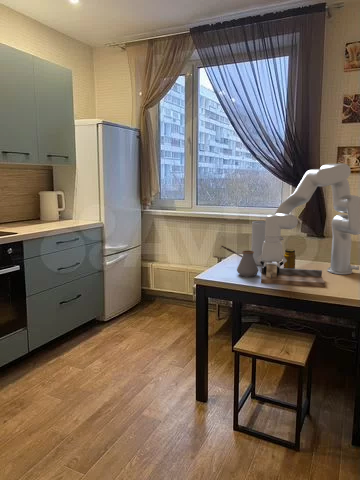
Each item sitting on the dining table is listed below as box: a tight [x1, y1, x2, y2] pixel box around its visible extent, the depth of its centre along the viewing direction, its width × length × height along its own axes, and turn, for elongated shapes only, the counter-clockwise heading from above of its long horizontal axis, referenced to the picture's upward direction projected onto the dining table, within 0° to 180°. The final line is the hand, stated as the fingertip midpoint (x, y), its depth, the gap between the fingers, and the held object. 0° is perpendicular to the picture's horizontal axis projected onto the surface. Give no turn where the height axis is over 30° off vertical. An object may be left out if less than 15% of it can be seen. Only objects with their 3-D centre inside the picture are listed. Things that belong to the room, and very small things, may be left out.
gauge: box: [266, 262, 277, 279], centre depth 186 cm, size 5×10×6 cm, turn 167°
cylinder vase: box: [250, 220, 273, 267], centre depth 219 cm, size 12×12×25 cm
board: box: [260, 266, 326, 288], centre depth 185 cm, size 30×12×5 cm, turn 77°
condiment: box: [283, 248, 296, 269], centre depth 204 cm, size 7×8×12 cm
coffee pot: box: [219, 245, 259, 278], centre depth 198 cm, size 21×12×15 cm, turn 63°
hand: (271, 273), depth 188 cm, fingers closed on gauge, 5 cm apart
